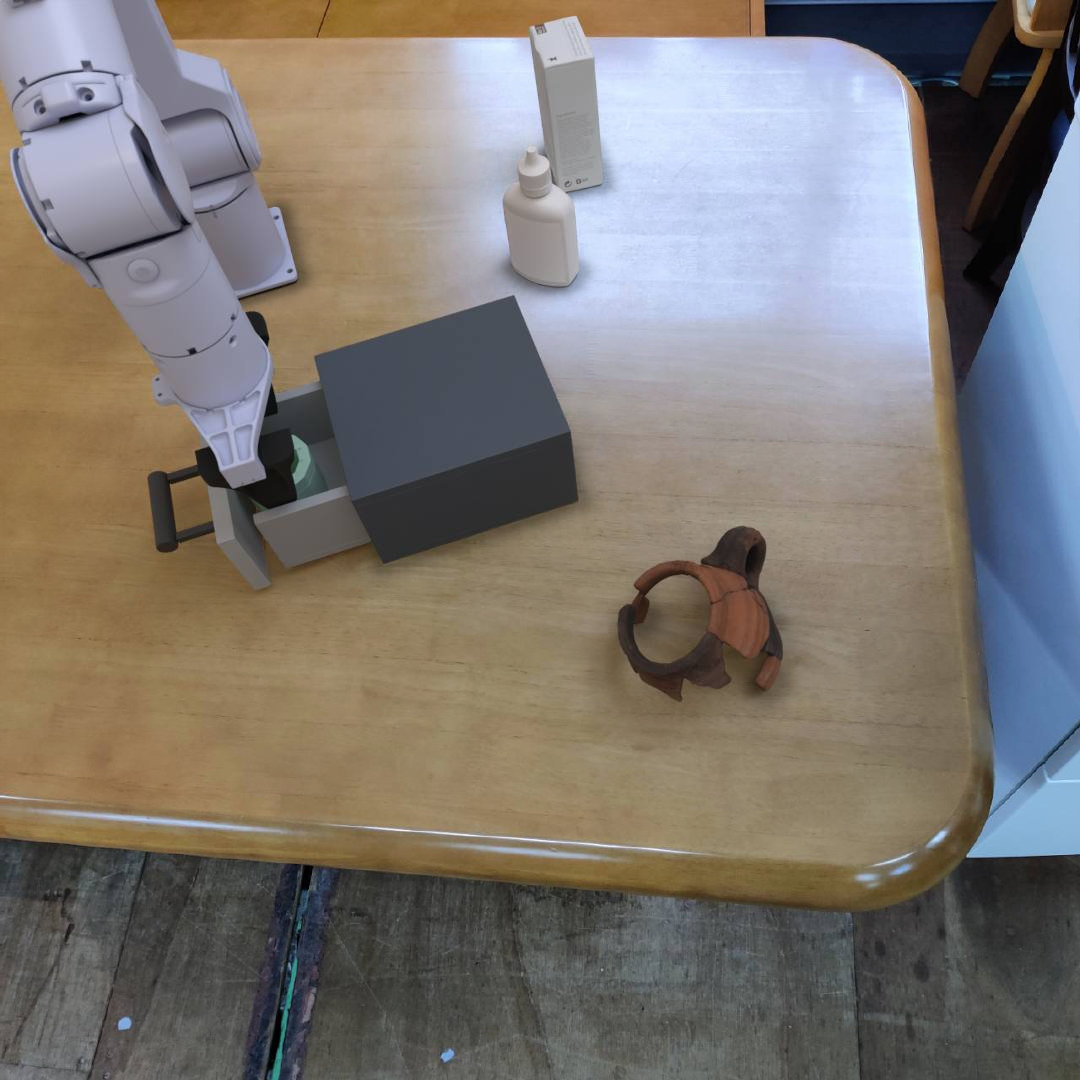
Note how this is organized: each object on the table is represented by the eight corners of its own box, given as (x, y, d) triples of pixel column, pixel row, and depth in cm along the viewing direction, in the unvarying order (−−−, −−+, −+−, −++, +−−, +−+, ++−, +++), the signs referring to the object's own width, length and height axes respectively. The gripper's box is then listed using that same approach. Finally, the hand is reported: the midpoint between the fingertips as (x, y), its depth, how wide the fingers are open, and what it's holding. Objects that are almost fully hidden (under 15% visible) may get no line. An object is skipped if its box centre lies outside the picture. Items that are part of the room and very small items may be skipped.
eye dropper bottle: (542, 302, 78) (527, 183, 67) (506, 263, 80) (486, 142, 70) (586, 277, 78) (578, 156, 68) (549, 239, 81) (535, 116, 71)
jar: (255, 481, 69) (232, 446, 65) (321, 460, 70) (302, 424, 66) (266, 537, 67) (242, 504, 63) (334, 515, 67) (315, 481, 63)
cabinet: (383, 564, 67) (350, 500, 60) (347, 428, 73) (313, 355, 66) (578, 501, 68) (571, 431, 61) (526, 372, 74) (514, 294, 67)
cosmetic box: (605, 184, 84) (600, 57, 73) (556, 196, 84) (543, 70, 73) (588, 140, 87) (581, 11, 76) (540, 151, 87) (527, 23, 76)
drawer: (188, 612, 66) (143, 567, 60) (170, 482, 71) (127, 428, 65) (440, 531, 67) (421, 479, 61) (403, 409, 72) (381, 350, 67)
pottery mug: (767, 740, 59) (706, 706, 53) (647, 697, 65) (580, 663, 59) (830, 563, 61) (778, 511, 55) (707, 538, 67) (648, 490, 62)
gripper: (104, 248, 55) (199, 393, 67) (127, 441, 48) (229, 565, 60) (223, 213, 55) (296, 363, 67) (263, 400, 48) (337, 530, 60)
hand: (272, 456), depth 64 cm, fingers open, 7 cm apart
